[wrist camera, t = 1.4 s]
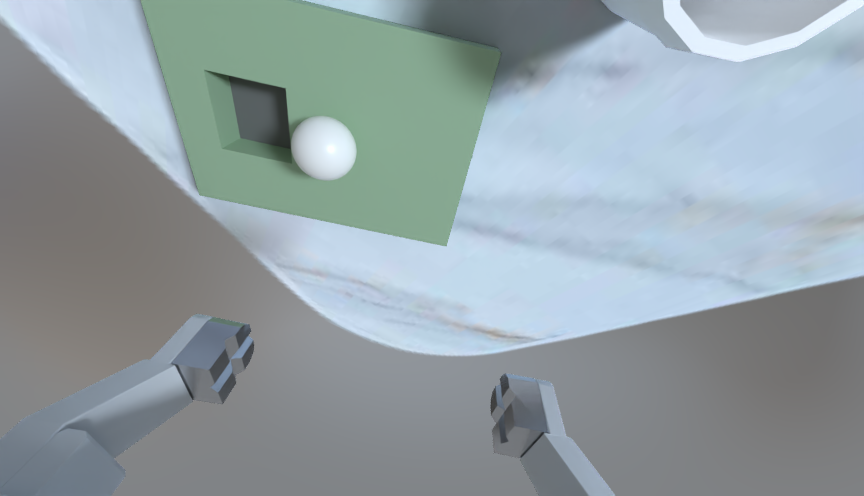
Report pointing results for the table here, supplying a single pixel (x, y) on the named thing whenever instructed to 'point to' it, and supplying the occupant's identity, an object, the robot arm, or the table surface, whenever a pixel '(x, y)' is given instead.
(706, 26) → the foam cup
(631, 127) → the table surface
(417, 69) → the green
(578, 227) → the table surface
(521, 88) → the table surface
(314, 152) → the ball
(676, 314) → the table surface
